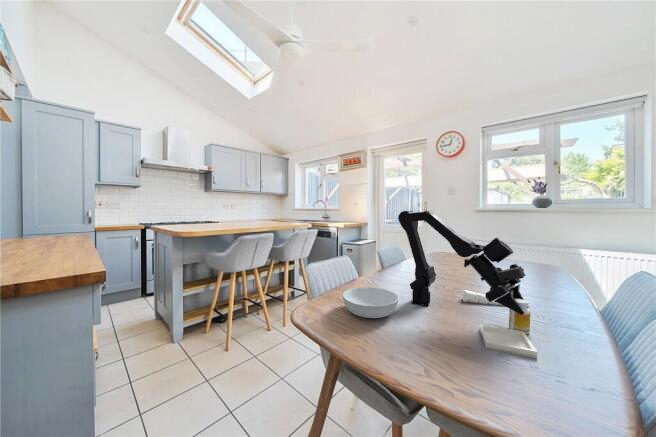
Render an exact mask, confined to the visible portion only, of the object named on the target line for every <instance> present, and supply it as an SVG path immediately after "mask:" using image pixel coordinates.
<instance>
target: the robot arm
mask: <svg viewBox="0 0 656 437" xmlns="http://www.w3.org/2000/svg"><path fill="white" fill-rule="evenodd" d="M397 219H398V221H399V224H400V226H401V228H402V229H403V230H404V231H405V233H406V236H407V240H408V244H409V246H410V250H411V251H410V252H411V253H412V254H411V255H412V258H413V261H414V264H415V268H414V278H415V279H414V281H412V282H410V283H409V286H410V290H412V292H411V294H412V295H411V296H412V298H411V300H412V301H411V304H412V305H419V306H424V307H429V305H430V304H431V291H430V287H431V285H432V284H434V283H435V281H436V278H437V273H436V272H435V267H434V266H433V265H429V263H428V261H427V258H426V254H425V250H424V247H423V245H422V241H421V237H420V234H419V231H418V227H419V222H422V221H424V222H426V223H427V224H428V225H429V226H430V227H431V228H433V229H434V230H435V231H436V232H437V233H438V234H439V235H440V236H441V237H443V238H444V239H445V240H446V241H447V242H448V243H449V245H450V246H451V248H452V249H453V251H454V252H455V253H456V254H457V255H458V256H459V257H461V258H465V259H464V263H463V267H464V268H467V267H469V266H471V267H472V268H473V269H474V270H475V271H476V273H477V274H478V275H479V276H480V277H479V278H480V281H482V282H483V281H484V282H485V283H486V284H487V285H488V286H489V290H488V291H487V292H485V294H484V295H485V297H486V299H487V300H488V301H489V302H492V301H493V300H495V299H496V300H495V302H497V303H499V304H501V305H500V306H504V307H506V308H507V309H508V310H509V309H511V310H513V311H515V312H517V313H518V314H520V315H523V314H524V312H523V310H522V309H521V307H520V306H519V305H518V303H517V302H516V300H515V299H522V300H525V299H524V297H523V296H522V293H521V292H520V287H521V284H520V283H521V282H522V280H521V279H524V278H525V277H526V273H525V272H524V271H525V269H524V268H523V267H522V266H521V265H518V264H517V263H514V264H510V265H509V268H507V269H502V268H501V267H496V265H495V264H493V263H501V261H503V260H505V259H506V258H508V257H510V256H511V255H513V254H514V253H515V252H514V250H513V249H512V248H511V247H510V246H509V245H508V244H507V243H505V242H504V241H503V240H501V239H499V238H498V237H495V238H493V239H492V240H491V241H490V242H489V243H488V244H486V245H481V244H476V243H475V242H474V241H473V240H471V239H470V238H468V237H466V236H464V235H461V234H460V233H458V232H456V231H455V230H454V229H453V228H452V227H450V226H449V225H448V224H447V223H445V222H444V221H443V220H442V219H441V218H440V217H439V216H437V215H436V214H435V213H434V211H431V210H425V211H420V212H419V211H418V212H416V211H413V210H403V211H401V212H400V213H399V214H398V216H397ZM482 252H483V253H482ZM478 254H480V255H478ZM472 255H473V256H472ZM468 257H470V258H469V259H468ZM527 308H528V309H529V307H527Z"/></svg>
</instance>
